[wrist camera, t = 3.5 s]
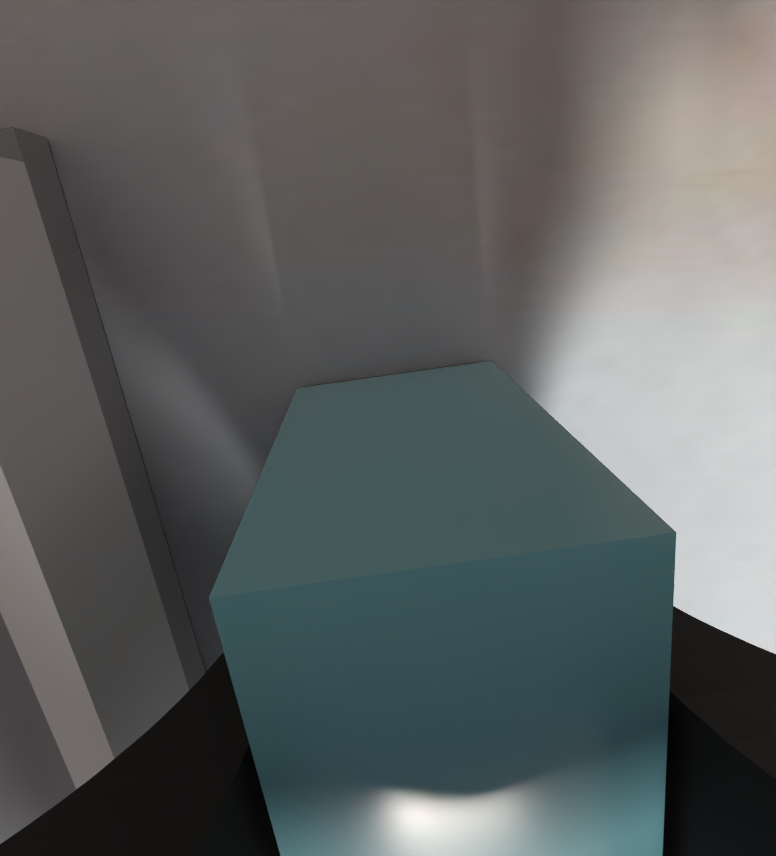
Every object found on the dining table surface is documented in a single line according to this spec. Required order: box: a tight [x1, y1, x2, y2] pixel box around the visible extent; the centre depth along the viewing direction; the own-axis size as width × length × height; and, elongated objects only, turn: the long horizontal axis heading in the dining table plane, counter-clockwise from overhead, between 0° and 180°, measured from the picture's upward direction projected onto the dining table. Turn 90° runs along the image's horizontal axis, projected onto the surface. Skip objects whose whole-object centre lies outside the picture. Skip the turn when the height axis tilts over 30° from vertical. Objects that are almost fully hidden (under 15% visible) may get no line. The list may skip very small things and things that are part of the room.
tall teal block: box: [209, 361, 676, 856], centre depth 9 cm, size 8×4×7 cm, turn 7°
